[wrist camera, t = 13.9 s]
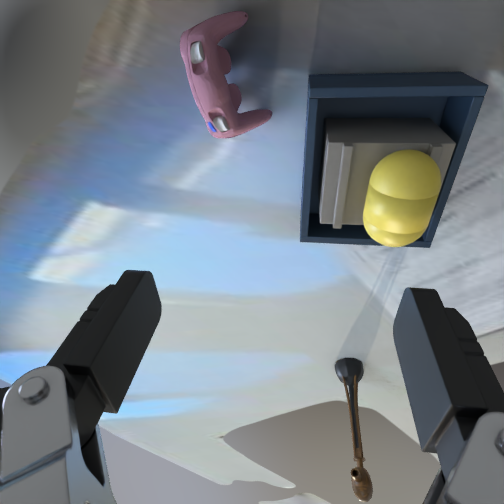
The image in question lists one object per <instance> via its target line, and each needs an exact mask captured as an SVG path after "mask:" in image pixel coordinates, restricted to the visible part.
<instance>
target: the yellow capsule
mask: <svg viewBox="0 0 504 504" xmlns="http://www.w3.org/2000/svg"><path fill="white" fill-rule="evenodd" d="M440 188H441V173H440V169H439V167H438V165H437V164H436V162H435V161H434V160H433V159H432V158H431V157H430V156H429V155H427V154H425V153H423V152H421V151H417V150H410V149H406V150H400V151H396V152H393V153H391V154H389V155H387V156H386V157H384V158H383V159H382V160H381V161H380V162H379V163H378V164H377V165H376V166H375V168H374V170H373V172H372V174H371V177H370V180H369V185H368V190H367V195H366V201H365V206H364V211H363V223H364V227H365V229H366V231H367V233H368V234H369V235H370V237H371V238H372V239H373V240H375V241H376V242H378V243H380V244H382V245H385V246H389V247H400V246H405V245H408V244H410V243H413V242H414V241H416V240H417V239H418V238H420V237H421V236H422V234H423V233H424V232H425V230H426V228H427V226H428V224H429V221H430V218H431V215H432V212H433V209H434V206H435V204H436V201H437V198H438V195H439V192H440Z"/></svg>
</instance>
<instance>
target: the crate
mask: <svg viewBox="0 0 504 504" xmlns="http://www.w3.org/2000/svg"><path fill="white" fill-rule="evenodd" d="M487 89H488V85H487V84H485V83H483V82H481V81H479V80H477V79H474V78H472V77H470V76H468V75H466V74H464V73H463V72H421V73H370V74H319V75H309V82H308V99H307V116H306V133H305V150H304V167H303V184H302V201H301V221H300V242H312V243H334V244H356V245H379V246H385V245H382V244H380V243H378V242H376V241H375V240H373V239H372V238H371V237H370V235H369V234H368V233H367V231H366V229H365V227H364V225H352V224H342V228H341V229H339V228H333V224H325V223H320V214H319V197H318V186H319V175H320V164H321V153H322V142H323V131H324V120H325V118H431V119H432V120H433V121H434V122H435V123H436V124H437V125H438V126H439V127H440V128H441V129H442V130H443V131H444V132H445V133H446V134H447V135H448V136H449V137H450V138H451V139H452V140H453V141H454V142H455V143H456V145H455V148H454V151H453V154H452V157H451V160H450V163H449V166H448V169H447V172H446V175H445V177H444V180H443V183H442V186H441V189H440V192H439V195H438V198H437V201H436V204H435V207H434V210H433V213H432V216H431V219H430V222H429V224H428V227H427V228H426V230H425V232H424V233H423V234H422V236H421V237H420V238H418V239H417V240H416V241H414V242H413V243H410V244H408V245H405V246H401V247H423V248H430V246H431V243H432V240H433V238H434V235H435V232H436V229H437V227H438V224H439V221H440V218H441V216H442V213H443V210H444V207H445V205H446V202H447V199H448V196H449V194H450V191H451V188H452V185H453V182H454V180H455V177H456V174H457V171H458V169H459V166H460V163H461V160H462V158H463V155H464V152H465V149H466V147H467V144H468V141H469V138H470V136H471V133H472V130H473V127H474V124H475V122H476V119H477V116H478V113H479V111H480V108H481V105H482V102H483V100H484V96H485V94H486V91H487Z"/></svg>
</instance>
